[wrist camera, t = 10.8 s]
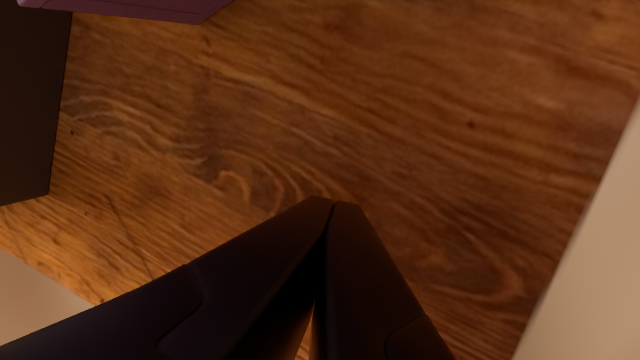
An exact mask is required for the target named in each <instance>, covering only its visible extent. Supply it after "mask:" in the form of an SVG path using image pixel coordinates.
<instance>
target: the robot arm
mask: <svg viewBox="0 0 640 360" xmlns="http://www.w3.org/2000/svg"><path fill="white" fill-rule="evenodd" d="M313 308H314V310H313ZM312 312H313V317H312V325H311V337H310V350H309V360H457V359H456V358H455V356H454V355H453V354H452V352H451V351H450V349H449V348H448V346H447V345H446V343H445V342H444V340H443V339H442V337H441V336H440V334H439V333H438V331H437V330H436V328H435V326H434V325H433V323H432V321H431V320H430V318H429V317H428V315H426V313H425V311H424V310H423V308H422V307H421V305H420V303H419V302H418V300H417V298H416V297H415V295H414V294H413V292H412V290H411V289H410V287H409V285H408V284H407V282H406V280H405V279H404V277H403V276H402V274H401V272H400V271H399V269H398V267H397V266H396V264H395V262H394V261H393V259H392V258H391V256H390V254H389V253H388V251H387V249H386V248H385V246H384V245H383V243H382V241H381V240H380V238H379V236H378V235H377V233H376V231H375V230H374V228H373V227H372V225H371V223H370V222H369V220H368V218H367V217H366V215H365V213H364V212H363V210H362V209H361V207H360V206H359V205H358V204H354V203H348V202H343V201H337V202H336V203H334V201H333V200H332V199H328V198H323V197H318V196H311V197H309V198H307V199H305V200H303V201H301V202H299V203H298V204H296V205H294V206H292V207H290V208H288V209H287V210H285V211H283V212H281V213H279V214H277V215H275V216H274V217H272V218H270V219H268V220H266V221H264V222H263V223H261V224H259V225H257V226H255V227H253V228H251V229H250V230H248V231H246V232H244V233H242V234H240V235H239V236H237V237H235V238H233V239H231V240H229V241H227V242H226V243H224V244H222V245H220V246H218V247H216V248H215V249H213V250H211V251H209V252H207V253H205V254H203V255H202V256H200V257H198V258H196V259H194V260H192V261H191V262H189V263H188V264H183V265H182V266H180V267H178V268H176V269H174V270H172V271H170V272H169V273H167V274H165V275H163V276H161V277H159V278H157V279H155V280H153V281H151V282H149V283H147V284H145V285H143V286H141V287H139V288H136V289H134V290H132V291H130V292H127V293H125V294H123V295H121V296H118V297H116V298H114V299H112V300H109V301H107V302H105V303H102V304H100V305H98V306H95V307H93V308H90V309H88V310H86V311H83V312H81V313H78V314H76V315H74V316H71V317H69V318H66V319H64V320H62V321H59V322H57V323H54V324H52V325H50V326H47V327H45V328H42V329H40V330H38V331H35V332H33V333H30V334H29V335H26V336H23V337H21V338H19V339H16V340H14V341H11V342H9V343H6V344H4V345H2V346H0V360H294V359H295V356H296V354H297V351H298V349H299V346H300V344H301V341H302V339H303V336H304V334H305V331H306V329H307V326H308V324H309V321H310V318H311V315H312Z"/></svg>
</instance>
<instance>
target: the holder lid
mask: <svg viewBox="0 0 640 360" xmlns="http://www.w3.org/2000/svg"><path fill="white" fill-rule="evenodd" d="M47 1H48V0H17V2H18V4H19V6H23V7H33V8H40V7H41V6H42V5H43V4H44V3H45V2H47Z"/></svg>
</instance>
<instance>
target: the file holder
mask: <svg viewBox="0 0 640 360" xmlns="http://www.w3.org/2000/svg"><path fill="white" fill-rule="evenodd" d="M231 1H233V0H48V1H47V2H45V3H44V4H43V5H42V6H41V7H42V8H45V9H54V10H64V11H73V12H82V13H92V14H101V15H111V16H120V17H129V18H139V19H148V20H158V21H167V22H176V23H186V24H192V25H198V24H200V23H201V22H203V21H204V20H205V19H207V18H208V17H210V16H211V15H213V14H214V13H215V12H217V11H218V10H220V9H221V8H223V7H224V6H225V5H227V4H228V3H230V2H231Z"/></svg>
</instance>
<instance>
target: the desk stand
mask: <svg viewBox="0 0 640 360" xmlns="http://www.w3.org/2000/svg"><path fill="white" fill-rule="evenodd" d="M71 14H72V11H64V10H54V9H45V8H42V7H40V8H33V7H23V6H19V4H18V2H17V0H0V207H1V206H5V205H9V204H13V203H17V202H21V201H25V200H29V199H33V198H37V197H41V196H46V195H47V193H48V185H49V178H50V170H51V163H52V156H53V148H54V141H55V133H56V126H57V118H58V111H59V103H60V96H61V88H62V81H63V74H64V66H65V59H66V51H67V44H68V36H69V29H70V21H71Z"/></svg>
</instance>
